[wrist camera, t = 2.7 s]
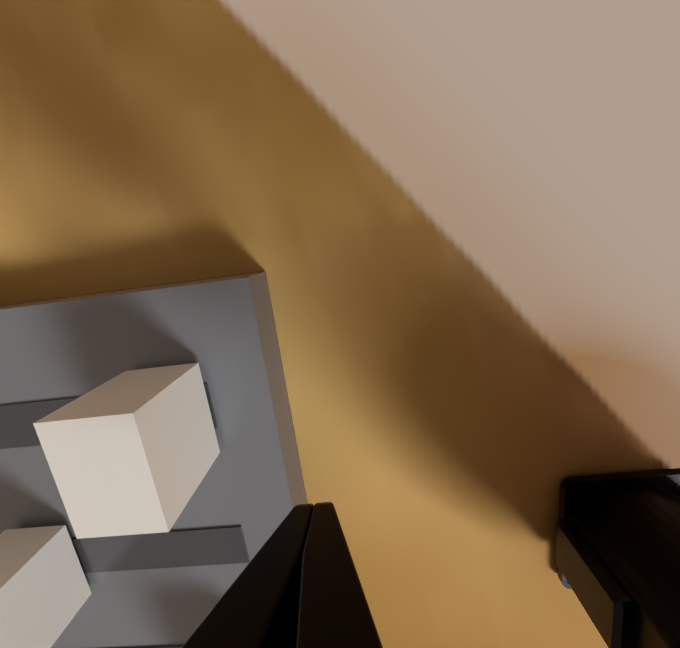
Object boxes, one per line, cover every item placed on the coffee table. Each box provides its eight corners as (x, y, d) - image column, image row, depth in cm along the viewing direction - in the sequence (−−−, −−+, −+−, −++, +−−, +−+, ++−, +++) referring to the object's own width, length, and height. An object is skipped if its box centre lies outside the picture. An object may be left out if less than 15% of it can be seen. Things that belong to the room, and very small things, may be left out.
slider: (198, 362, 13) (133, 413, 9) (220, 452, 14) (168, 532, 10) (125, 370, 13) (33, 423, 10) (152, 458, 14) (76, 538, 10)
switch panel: (265, 271, 15) (246, 277, 12) (336, 665, 21) (333, 726, 18) (-96, 318, 16) (-181, 333, 14) (62, 676, 22) (22, 734, 19)
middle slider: (65, 525, 15) (-33, 620, 12) (91, 593, 16) (9, 702, 12) (5, 529, 16) (-111, 624, 12) (34, 596, 17) (-64, 705, 13)
